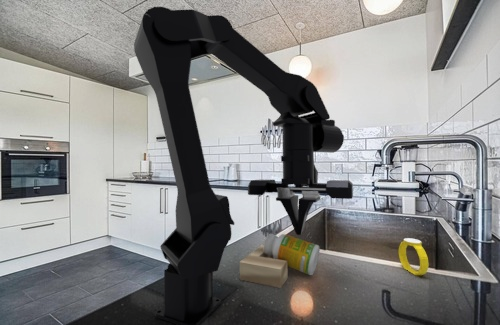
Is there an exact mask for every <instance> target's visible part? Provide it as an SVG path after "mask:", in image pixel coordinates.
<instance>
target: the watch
mask: <svg viewBox="0 0 500 325" xmlns="http://www.w3.org/2000/svg"><path fill="white" fill-rule="evenodd" d="M422 244H423V242H422V241H421V240H419V239H417V238H416V239H415V238H411V237H410V238H409V237H405V238H403V241H401V243H400V244H399V246H398V258H399V261H400V264H401V265H402V267H403V269H404V270H406V271H407V270H408V271H407V272H409V273H411V274H412V275H414V276H423V275H426V274H427V272H428V269H429V265H430V264H429V258H428V255H427V253H426V251H425V249H424V247H423V246H422ZM408 246H410V247H413V248H414V249H415V251H416V253H417V255H418V258H419V268H418V270H417V269H416V268H413V267H411V264H410V263H409V261H408V257H407V248H408Z"/></svg>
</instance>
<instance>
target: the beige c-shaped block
mask: <svg viewBox="0 0 500 325" xmlns="http://www.w3.org/2000/svg"><path fill="white" fill-rule="evenodd" d="M263 247H264V243H262V244H261V245H260V246H258V247H257V248H256V249H255V250H254V251H252V252H250V253H249V254H248V255H246V257H245V258H243V259H242V260H240V261H239V280H240V281H241V280H242V281H246V282H251V283H255V284H258V285H259V284H260V285H263V286H268V287H273V288H278V289H282V287H283V286H284V285H285V283H286V281H287V280H288V266H287V261H285V260H278V259H274V258H273V255H271V256H270V255H268V254H265V253H264V251H263Z"/></svg>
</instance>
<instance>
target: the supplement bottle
mask: <svg viewBox="0 0 500 325" xmlns="http://www.w3.org/2000/svg"><path fill="white" fill-rule="evenodd" d="M263 244H264V247H263V251H264V253H265V254H268V255H270V256H271V255H273V258H274V259H278V260H285V261H287V268H291V269H294V270H297V271H299V272H302V273H304V274H306V275H309V276H313V275H314V273H315V271H316V268H317V264H318V262H319V257H320V246H319V244H315V243H312V242H309V241H306V240H303V239H301V238H298V237H295V236H292V235H289V234H285V233H283V234H280V235H279V236H278V235H276V234H273V233H269V234H268V235H266V238H265V240H264V243H263Z"/></svg>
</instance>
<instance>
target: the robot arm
mask: <svg viewBox="0 0 500 325" xmlns="http://www.w3.org/2000/svg"><path fill="white" fill-rule="evenodd" d="M248 40H249V39H246V38H245V37H244V36H243V35H242V34H241V33H240V32H238V31H237V30H236V29H234V27H233V26H232V24H231V22H230V20H228V18H227V17H225V16H223V15H221V14H220V15H219V14H216V15H212V14H211V15H207V14H204V13H203V12H200V11H198V10H196V9H170V8H168V7H164V6H153V7H151V8H149V9H148V10H146V11H145V13H143V15H142V18H141V22H140V25H139V27H138V31H137V32H136V37H135V40H134V42H133V48H134V49H133V51H134V55H135V56H136V58H137V62H138V63H139V67H140V68H141V71H142V73H143V75H144V78H145V79H146V80H147V82H148V84H149V85H150V86H151V88H152V90H153V91H154V95H155V96H156V101H157V105H158V111H159V115H160V119H161V122H162V127H163V132H164V136H165V140H166V145H167V149H168V154H169V158H170V163H171V166H172V171H173V176H174V180H175V184H176V185H175V186H176V188H177V197H176V204H175V226H176V227H175V229H174V230H173V231H172V232H171V233H170V234H169V236H168V237H167V238H166V239H165V240H164V241H163V243H162V244H160V246H159V247H160V249H161V253H162V255H163V257H164V259H165V260H167V261H168V265H167V268H166V269H164V270H163V271H164V273H163V274H164V275H163V277H164V280H163V283H164V284H163V285H164V286H163V290H164V291H163V295H164V296H163V305H162V306H161V307H160V308H158V309H157V310H156V311H155V312H154V316H155V318H158V319H161V320H164V321H167V322H170V323H171V324H172V323H173V324H176V325H201V323H202V322H203V321H204V320H205V319H206V318H208V317H209V316H210V315H211V313H213V312H214V311H215V310H216V309H217V308H218V307H219V306H220V305H221V304H222V299H221V298H218V297H215V296H213V295H214V294H213V293H214V292H213V282H214V281H213V275H214V274H213V273H214V272H217V271H218V270H219V268H220V264H221V262H222V257H223V255H224V254H223V253H224V251H225V248H226V247H227V245H228V243H229V242H230V241H231V239H232V226H235V221H234V220H233V218H232V215H231V212H230V210H231V209H230V201H229V197H228V196H226V195H221V194H216V193H215V191H214V190H213V189H212V186H211V183H210V180H209V175H208V170H207V165H206V164H207V163H206V159H205V155H204V150H203V147H202V142H201V137H200V134H199V132H200V131H199V128H198V124H197V119H196V114H195V110H194V105H193V101H192V95H191V91H190V84H189V82H190V71H191V64H192V60H194V59H197V58H201V57H203V56H209V55H211V56H212V55H213V57H215V58H216V59H218V60H219V61H221V62H222V63H223V64H225V65H226V66H228V67H229V68H230V69H231V70H233V71H234V72H235V73H236V74H239V76H241V77H243V78H244V79H245V80H246V81H248V82H249V83H251V84H252V85H254V86H255V87H256V89H257V88H258V90H260V91H261V92H263V93H264V94H265V95H266V96H267V98H268V100H269V102H270V105H271V106H272V107H273V109H274V110H276V111H277V112H278V113H279V117H277V119H276V120H275V121H273V122H272V125H273V126H274V127H279V128H282V155H281V157H280V158H281V159H280V160H281V162H282V178H281V182H276V179H254V180H253V179H252V180H250V181H249V183H248V185H247V195H249V196H263V195H265V194H266V193H277V197H275V200H276V201H277V202H280V204H281V205H282V206H283V209H284V211H285V212H286V213H287V216H288V218H289V220H290V222H291V225H292V227H293V229H294V232H295V234H296V235H297V236H301V235H302V234H303V231H304V229H305V225H306V223H307V222H306V221H307V219H308V216H309V212H310V210H311V208H312V206H313V204H314V203H317V202H319V201H320V200H321V196H320V194H326V195H327V196H329V197H330V198H331V199H343V200H344V199H345V200H350V199H353V197H354V188H353V187H354V185H353V182H352V181H351V180H347V179H345V180H339V179H337V180H336V179H330V180H327V181H326V183H319V182H318V180H319V179H318V178H319V172H318V170H317V167H316V165H315V159H314V156H315V154H314V152H315V153H329V154H330V153H335V152H337V151H339V150H340V149H341V148H342V146H343V144H344V139H345V136H344V134H343V131H342V130H341V128H339V127H338V126H336V124H335V123H336V122H335V120H334V119H330V114H329V112H328V110H327V107H326V106H325V104H324V101H323V99H322V97H321V95H320V93H319V92H320V91H318V88H317V86H315V84H314V83H313V82H312V81H310V80H309V79H307V78H305V77H303V75H301V74H296V73H290V72H287V71H286V70H284V69H283V68H281V67H279V65H277V64H276V63H275V62H273V60H271V59H270V58H269V57H268V56H266V54H264V53H263V52H262V51H261V50H260V49H258V48H257V47H256V46H255V45H253V44H252V43H251V42H250V41H248ZM311 112H312V113H311ZM291 185H293V186H291ZM298 193H299V194H301V195H302V197H300V198H299V195H298Z"/></svg>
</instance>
